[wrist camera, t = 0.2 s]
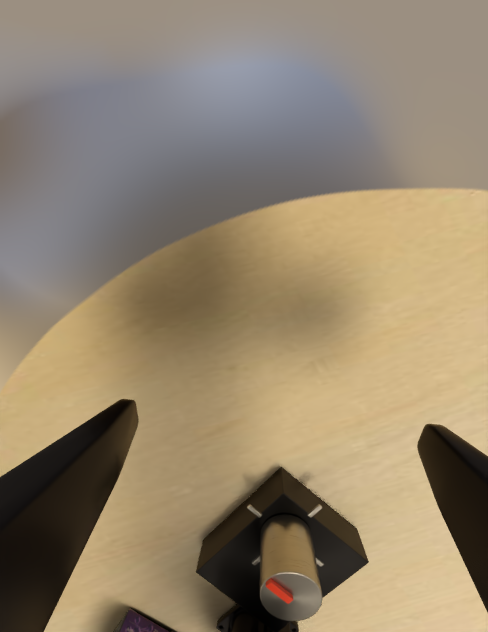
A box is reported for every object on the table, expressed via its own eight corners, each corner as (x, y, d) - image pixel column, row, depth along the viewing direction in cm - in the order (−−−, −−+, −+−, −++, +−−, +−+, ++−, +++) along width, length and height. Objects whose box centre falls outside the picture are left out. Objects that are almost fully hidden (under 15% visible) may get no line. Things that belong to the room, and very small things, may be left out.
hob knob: (322, 535, 23) (336, 604, 19) (287, 564, 24) (293, 636, 20) (284, 504, 23) (289, 566, 18) (250, 535, 24) (246, 601, 19)
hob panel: (275, 596, 29) (276, 636, 26) (193, 532, 28) (184, 565, 25) (367, 521, 26) (381, 555, 23) (280, 449, 26) (282, 475, 22)
